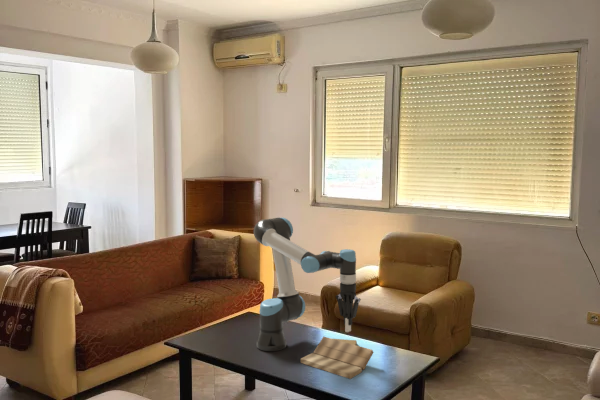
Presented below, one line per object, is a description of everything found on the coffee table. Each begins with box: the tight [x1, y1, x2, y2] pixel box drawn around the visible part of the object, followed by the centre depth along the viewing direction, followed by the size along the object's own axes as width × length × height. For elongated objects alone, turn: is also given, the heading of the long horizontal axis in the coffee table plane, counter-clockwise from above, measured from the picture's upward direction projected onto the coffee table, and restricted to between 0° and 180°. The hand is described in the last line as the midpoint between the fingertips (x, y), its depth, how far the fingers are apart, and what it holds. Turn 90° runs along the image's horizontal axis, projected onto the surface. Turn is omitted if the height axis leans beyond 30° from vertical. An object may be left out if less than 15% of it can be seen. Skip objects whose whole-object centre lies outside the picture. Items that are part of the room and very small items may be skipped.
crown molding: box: [334, 338, 358, 346], centre depth 266 cm, size 14×15×4 cm
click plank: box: [312, 336, 374, 371], centre depth 248 cm, size 28×10×2 cm
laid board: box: [300, 352, 363, 380], centre depth 241 cm, size 28×9×2 cm, turn 51°
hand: (348, 331), depth 250 cm, fingers closed
